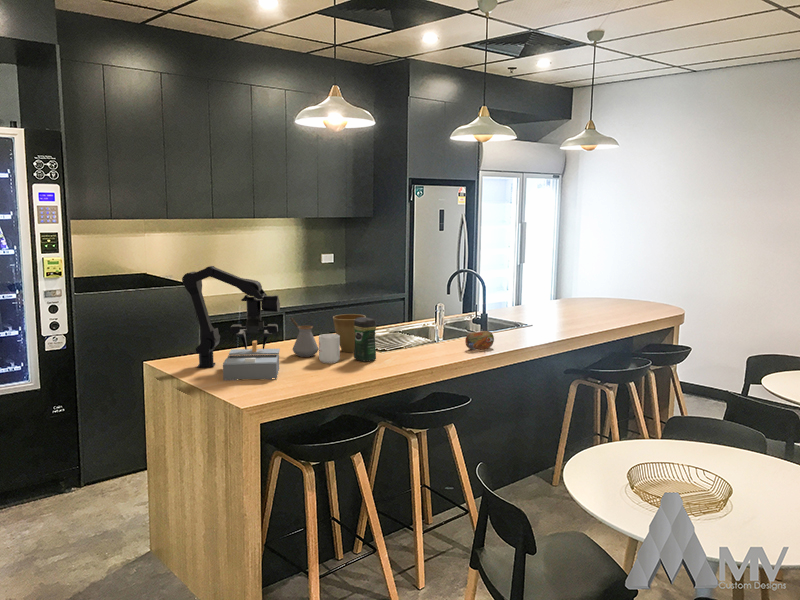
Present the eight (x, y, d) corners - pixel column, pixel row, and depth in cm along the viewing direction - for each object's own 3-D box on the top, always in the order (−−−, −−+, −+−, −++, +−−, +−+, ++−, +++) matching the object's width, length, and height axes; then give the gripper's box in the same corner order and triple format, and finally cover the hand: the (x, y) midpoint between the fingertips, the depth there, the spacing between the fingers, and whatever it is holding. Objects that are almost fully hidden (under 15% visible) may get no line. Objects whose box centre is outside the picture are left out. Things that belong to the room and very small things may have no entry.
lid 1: (231, 350, 269) (231, 339, 268) (279, 349, 272) (279, 339, 271) (228, 355, 261) (228, 343, 261) (278, 354, 264) (278, 343, 263)
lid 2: (226, 359, 253) (225, 355, 253) (277, 358, 256) (277, 354, 256) (223, 364, 246) (223, 360, 246) (276, 363, 248) (276, 359, 248)
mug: (343, 362, 277) (343, 336, 275) (323, 364, 273) (323, 338, 271) (332, 356, 287) (331, 331, 286) (313, 358, 283) (313, 333, 281)
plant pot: (355, 345, 309) (355, 312, 307) (371, 352, 297) (371, 317, 294) (327, 349, 301) (327, 315, 299) (342, 355, 289) (342, 320, 286)
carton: (228, 369, 262) (228, 355, 261) (279, 368, 265) (278, 354, 264) (223, 380, 247) (222, 365, 246) (276, 379, 249) (276, 364, 248)
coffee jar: (379, 360, 281) (379, 318, 278) (365, 363, 276) (365, 320, 273) (364, 356, 288) (365, 315, 285) (350, 359, 283) (350, 317, 280)
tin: (467, 351, 301) (468, 333, 300) (464, 349, 304) (464, 332, 302) (494, 348, 308) (494, 330, 307) (490, 346, 311) (490, 329, 310)
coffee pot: (323, 356, 288) (322, 322, 286) (299, 359, 281) (299, 325, 279) (301, 347, 305) (301, 315, 303) (279, 350, 299) (278, 318, 296)
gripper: (227, 315, 255) (228, 354, 257) (275, 314, 257) (276, 353, 260) (231, 310, 266) (232, 348, 268) (277, 310, 268) (278, 347, 270)
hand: (254, 349), depth 266 cm, fingers open, 7 cm apart
